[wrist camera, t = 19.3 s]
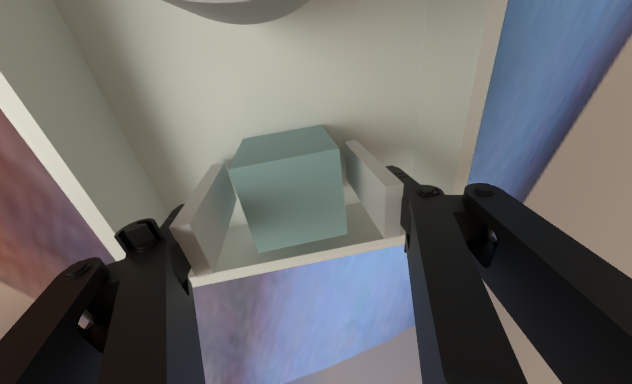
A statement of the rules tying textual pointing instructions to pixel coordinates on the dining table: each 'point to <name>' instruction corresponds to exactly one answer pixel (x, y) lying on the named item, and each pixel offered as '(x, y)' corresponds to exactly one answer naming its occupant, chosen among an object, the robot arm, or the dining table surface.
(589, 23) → the dining table surface
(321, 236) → the cube
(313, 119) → the tote
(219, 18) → the cup
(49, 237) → the dining table surface
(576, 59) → the dining table surface
